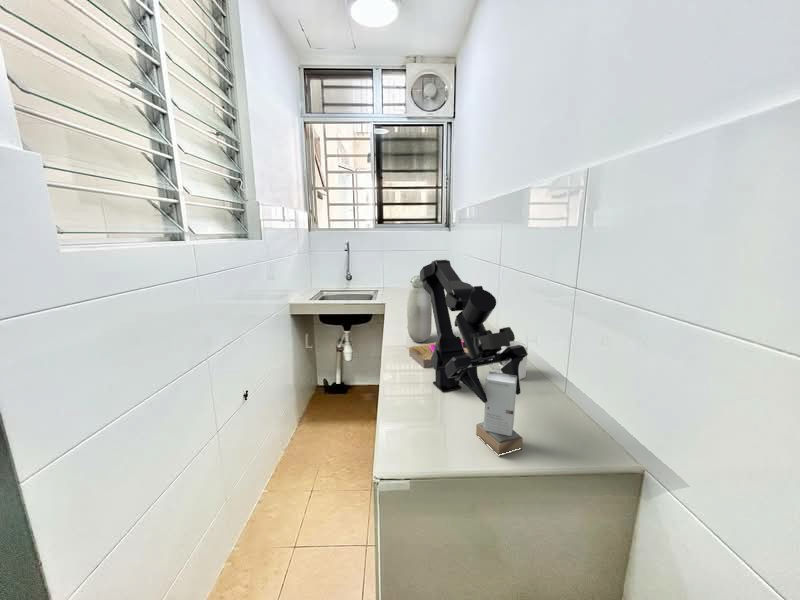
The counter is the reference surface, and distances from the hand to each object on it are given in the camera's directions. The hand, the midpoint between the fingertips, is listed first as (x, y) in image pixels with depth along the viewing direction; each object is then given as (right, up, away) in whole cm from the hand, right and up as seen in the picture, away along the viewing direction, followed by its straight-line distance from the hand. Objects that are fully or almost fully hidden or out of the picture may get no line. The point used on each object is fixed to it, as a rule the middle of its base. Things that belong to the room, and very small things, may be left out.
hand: (502, 398), depth 69 cm
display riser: (0, -11, +3) cm, 11 cm away
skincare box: (0, -8, +3) cm, 8 cm away
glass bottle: (-13, +3, +71) cm, 72 cm away
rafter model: (0, 0, +55) cm, 55 cm away
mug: (+12, -4, +36) cm, 38 cm away
